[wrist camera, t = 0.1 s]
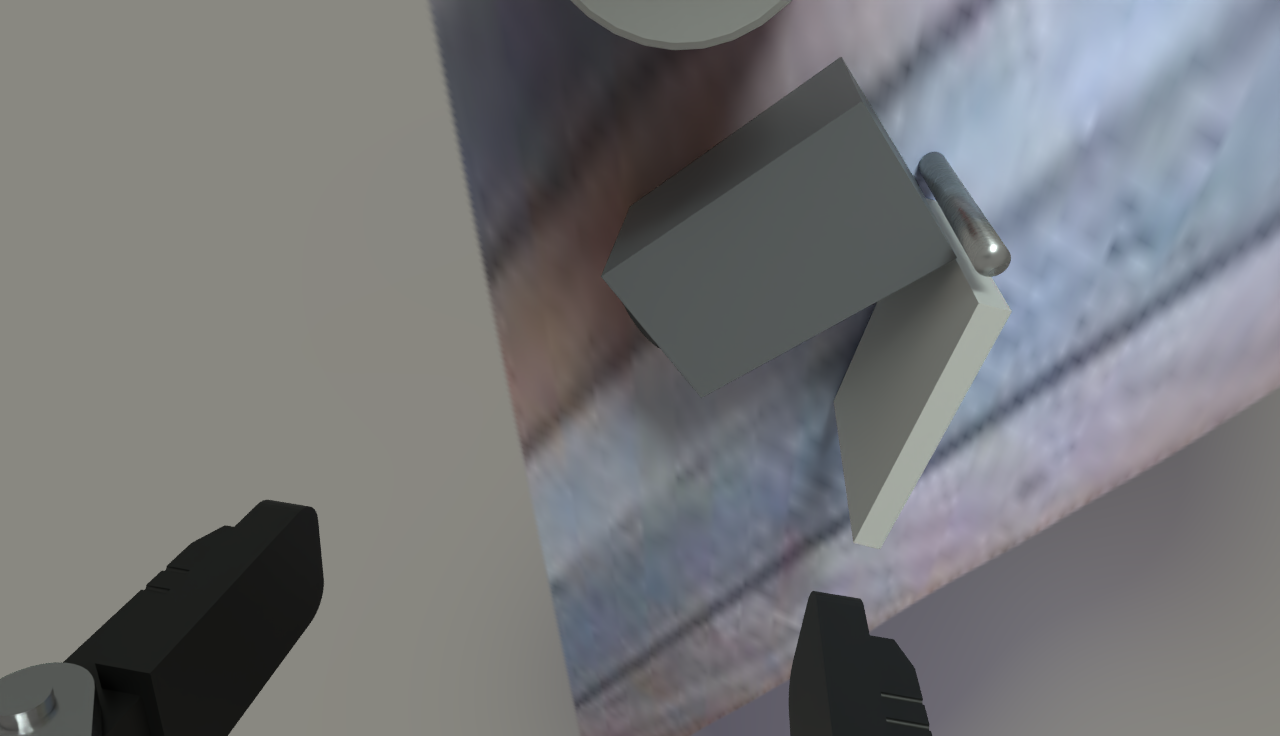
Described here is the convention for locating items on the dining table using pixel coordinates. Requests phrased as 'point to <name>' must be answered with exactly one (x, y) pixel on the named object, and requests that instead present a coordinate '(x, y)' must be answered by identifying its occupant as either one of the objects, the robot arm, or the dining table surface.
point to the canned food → (680, 20)
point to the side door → (911, 384)
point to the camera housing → (787, 234)
